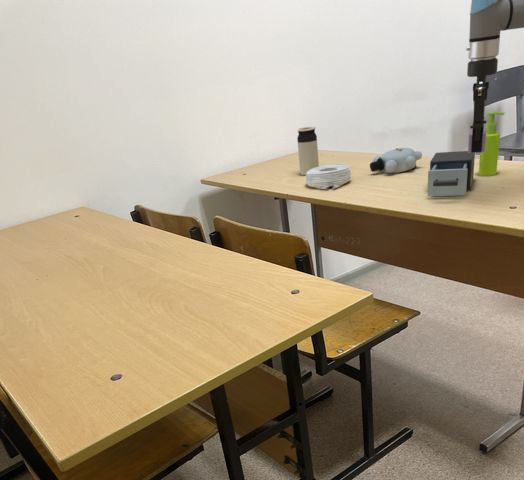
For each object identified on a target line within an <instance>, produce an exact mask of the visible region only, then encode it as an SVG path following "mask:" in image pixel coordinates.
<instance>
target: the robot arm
mask: <svg viewBox="0 0 524 480" xmlns="http://www.w3.org/2000/svg"><path fill="white" fill-rule="evenodd" d="M517 29H524V0H471V4H470V12H469V39H468V45H469V46H466V48H465V50H466V51H467V52H468V55H467V58H468V60H470V61H468V63H467V69H466V70H467V71H466V76H467V77H468V78H476V82H474V83H473V84H472V91H473V96H472V101H473V102H474V103H473V104H474V105H473V121H472V125H470V126H469V128H470V129H472V131H471V132H472V148H471V153H473V152H481V151H482V137H483V131H485V130H484V128H485V125H486V124H487V120H485V109H486V101H487V99H488V90H489V88H490V82H489V81H487V76H493V75H496V74H497V73H498V63H499V59H498V58H497V56H499V54H500V44H501V43H500V41H501V31H503V32H504V31H509V30H517Z"/></svg>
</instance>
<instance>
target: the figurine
mask: <svg viewBox="0 0 524 480" xmlns="http://www.w3.org/2000/svg"><path fill="white" fill-rule="evenodd" d="M422 157H423V153H422V152H421V151H420V150H417V151H415V150H414V149H412V148H409V147H397V148H394V149H391V150H388V151H386V152H384V153H383V154H381V155H377V156H375V157H373V158H372V160H371V162H370V163H369V169H370V171H371V172H376V171H382V173H384V174H399V173H402V172H407V171H410V170H413V169H416V168H417V161H419V160H421V159H422Z"/></svg>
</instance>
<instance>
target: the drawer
mask: <svg viewBox="0 0 524 480" xmlns="http://www.w3.org/2000/svg"><path fill="white" fill-rule="evenodd" d="M467 175H468V162H466V163H446V164H435V165H434V167H433V168H432V170H430V169H428V171H427V197H449V196H452V197H454V196H467V191H466V188H467Z"/></svg>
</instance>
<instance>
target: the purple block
mask: <svg viewBox="0 0 524 480" xmlns="http://www.w3.org/2000/svg"><path fill="white" fill-rule="evenodd" d="M472 132H473V131H470V132H469V134H468V145H467V151H468V153H471V148H472ZM485 143H486V130H483V137H482V151H481V152H485ZM481 152H473V153H475V154H480V153H481Z"/></svg>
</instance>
